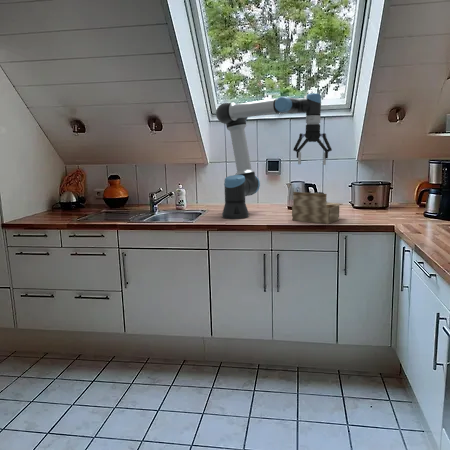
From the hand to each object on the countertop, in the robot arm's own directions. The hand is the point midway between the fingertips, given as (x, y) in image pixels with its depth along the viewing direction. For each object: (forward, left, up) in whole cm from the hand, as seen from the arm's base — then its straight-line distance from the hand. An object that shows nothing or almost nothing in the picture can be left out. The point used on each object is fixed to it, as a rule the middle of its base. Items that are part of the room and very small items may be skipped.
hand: (311, 164), depth 240 cm
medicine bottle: (-5, +18, -30) cm, 35 cm away
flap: (+5, -11, -21) cm, 25 cm away
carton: (+5, -1, -29) cm, 30 cm away
